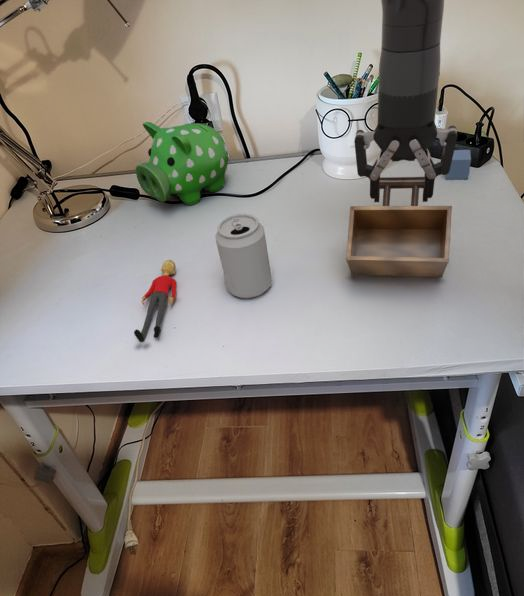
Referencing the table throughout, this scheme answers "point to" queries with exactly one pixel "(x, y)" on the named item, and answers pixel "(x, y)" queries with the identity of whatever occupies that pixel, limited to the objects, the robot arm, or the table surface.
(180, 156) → the piggy bank
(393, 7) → the robot arm
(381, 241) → the drawer
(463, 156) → the slate blue cube
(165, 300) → the person figure
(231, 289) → the can
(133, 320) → the table surface
